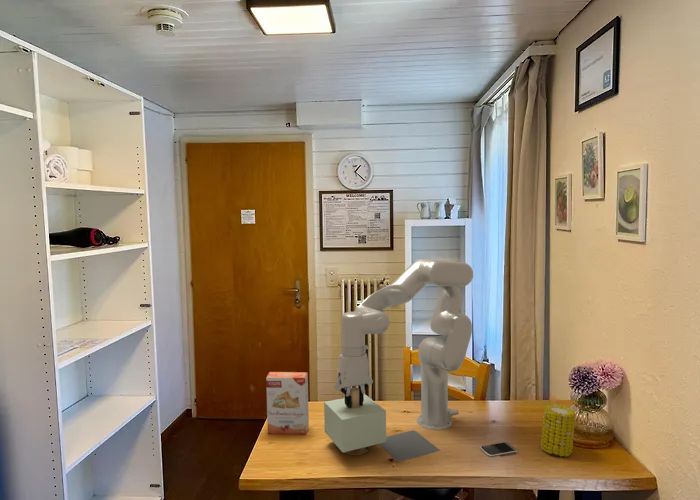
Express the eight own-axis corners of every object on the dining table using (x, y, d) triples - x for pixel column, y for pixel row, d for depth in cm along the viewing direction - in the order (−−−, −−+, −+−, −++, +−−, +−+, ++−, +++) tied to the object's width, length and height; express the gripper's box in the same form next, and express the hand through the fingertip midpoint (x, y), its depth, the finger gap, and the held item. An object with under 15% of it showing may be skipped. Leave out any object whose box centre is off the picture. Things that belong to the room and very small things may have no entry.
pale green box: (365, 423, 166) (364, 378, 164) (386, 442, 152) (385, 393, 151) (324, 431, 159) (323, 385, 158) (342, 452, 146) (341, 402, 144)
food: (535, 452, 155) (559, 448, 158) (561, 461, 144) (587, 457, 147) (530, 404, 157) (554, 401, 160) (556, 409, 146) (581, 406, 149)
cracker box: (267, 434, 167) (265, 376, 165) (271, 426, 173) (269, 371, 171) (306, 435, 166) (305, 377, 164) (309, 427, 172) (307, 371, 170)
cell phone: (478, 450, 154) (478, 446, 154) (508, 445, 158) (508, 441, 157) (489, 460, 149) (489, 455, 148) (519, 454, 152) (519, 450, 152)
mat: (414, 431, 168) (414, 429, 168) (440, 451, 153) (440, 450, 153) (373, 440, 161) (373, 439, 161) (397, 463, 147) (397, 462, 147)
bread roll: (360, 468, 151) (371, 447, 150) (332, 452, 152) (342, 432, 151) (366, 452, 161) (375, 433, 159) (339, 438, 162) (348, 418, 161)
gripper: (371, 344, 160) (371, 397, 162) (325, 350, 153) (326, 405, 155) (381, 350, 153) (381, 405, 155) (334, 357, 147) (335, 414, 148)
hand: (354, 404), depth 155 cm, fingers closed on pale green box, 3 cm apart
